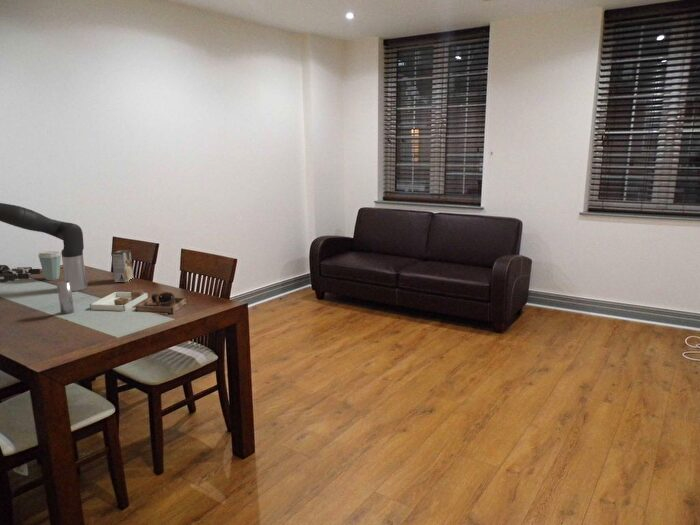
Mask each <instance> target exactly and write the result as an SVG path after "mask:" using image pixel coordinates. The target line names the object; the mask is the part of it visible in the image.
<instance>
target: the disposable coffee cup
mask: <svg viewBox="0 0 700 525" xmlns="http://www.w3.org/2000/svg"><path fill="white" fill-rule="evenodd" d="M38 259H39V262H40V265H41V268H42V270H41V271H42V273H43V275H44V279H45V280H46V281H54V280H58V279H60V273H61V260H62V254H61V252H60V251H58V250H57V251H55V250H52V251H51V250H50V251H49V250H48V251H40V252H39V253H38Z"/></svg>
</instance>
